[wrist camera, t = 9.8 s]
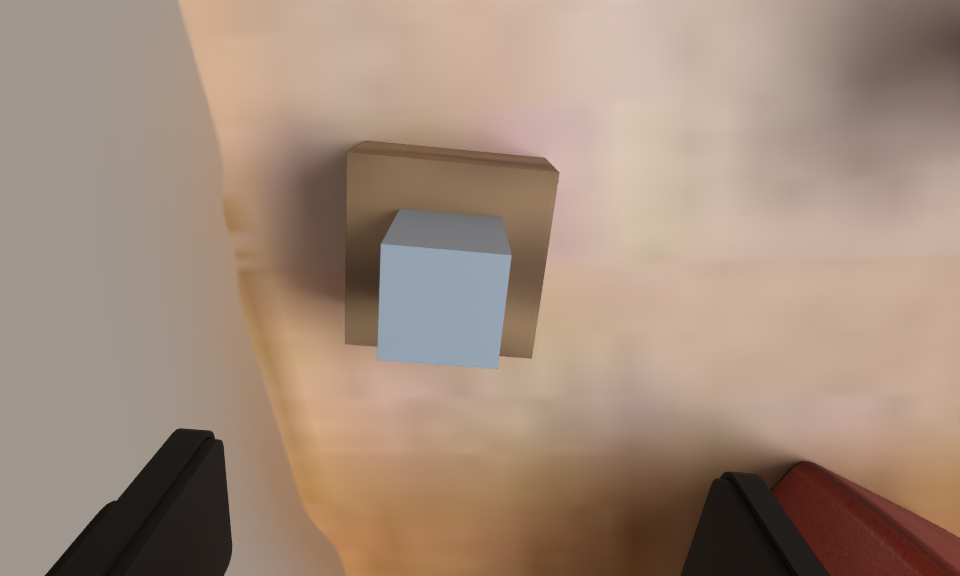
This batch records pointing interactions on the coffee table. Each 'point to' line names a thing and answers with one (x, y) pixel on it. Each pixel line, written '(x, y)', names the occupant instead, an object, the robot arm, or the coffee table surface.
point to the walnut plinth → (448, 189)
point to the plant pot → (863, 528)
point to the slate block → (443, 289)
